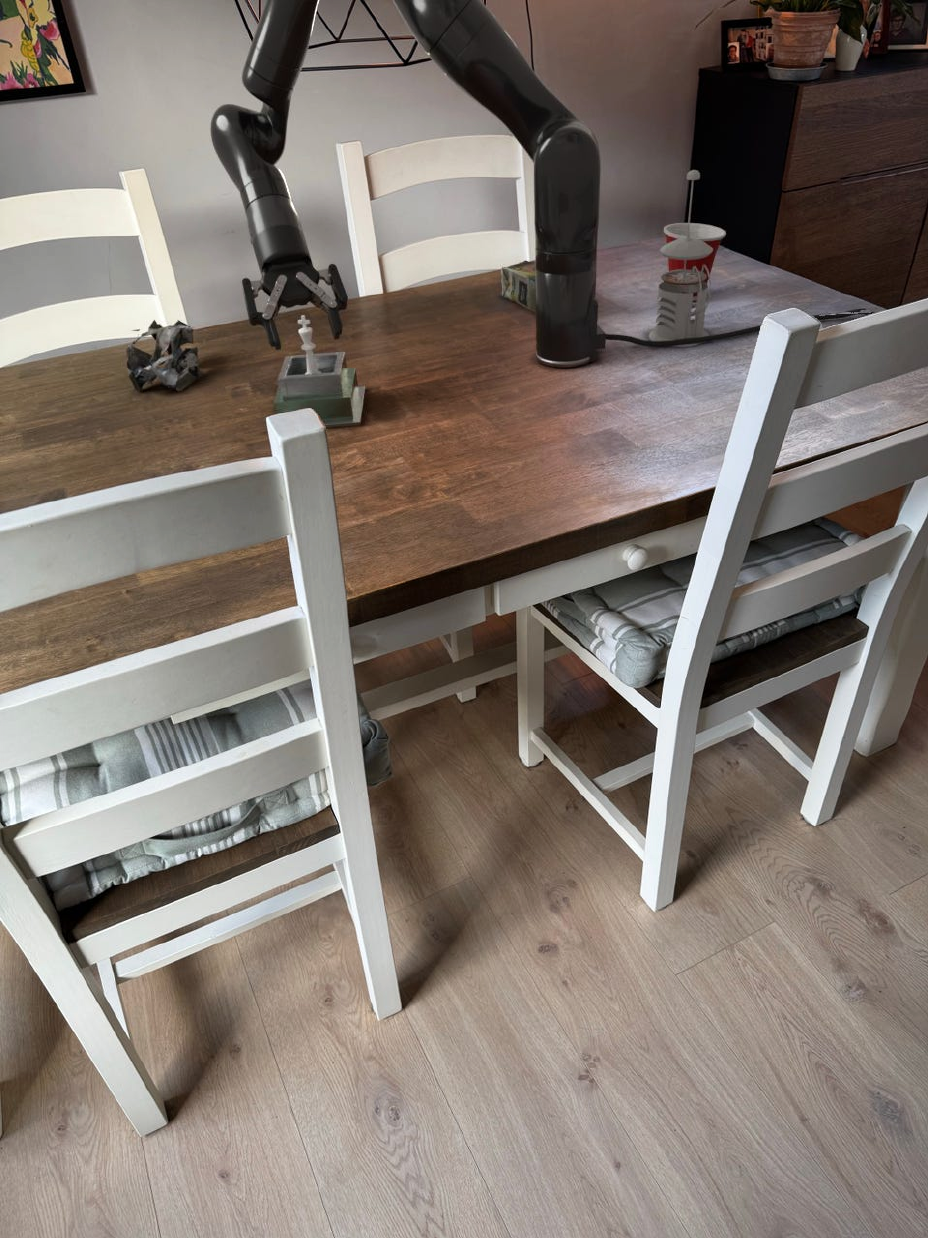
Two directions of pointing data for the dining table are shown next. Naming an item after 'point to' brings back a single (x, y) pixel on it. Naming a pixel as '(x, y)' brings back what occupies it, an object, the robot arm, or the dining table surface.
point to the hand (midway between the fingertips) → (308, 342)
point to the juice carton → (520, 284)
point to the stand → (321, 389)
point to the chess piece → (308, 346)
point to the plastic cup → (696, 231)
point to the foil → (165, 358)
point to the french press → (683, 289)
